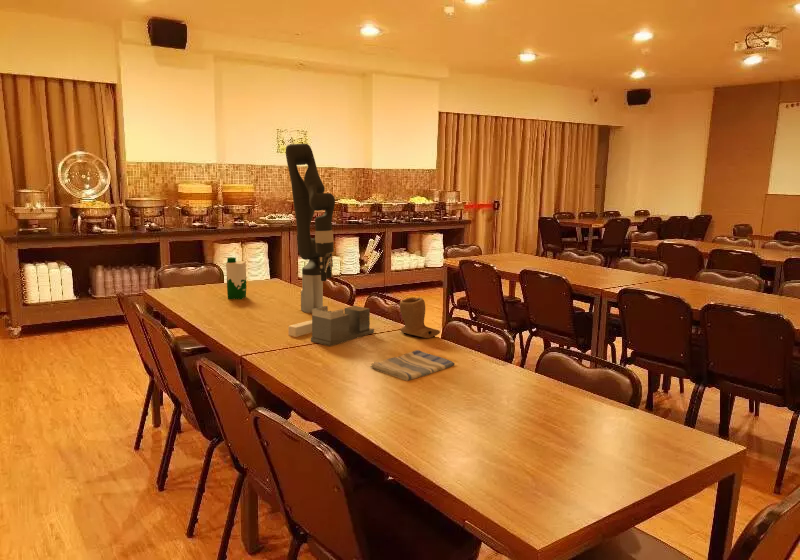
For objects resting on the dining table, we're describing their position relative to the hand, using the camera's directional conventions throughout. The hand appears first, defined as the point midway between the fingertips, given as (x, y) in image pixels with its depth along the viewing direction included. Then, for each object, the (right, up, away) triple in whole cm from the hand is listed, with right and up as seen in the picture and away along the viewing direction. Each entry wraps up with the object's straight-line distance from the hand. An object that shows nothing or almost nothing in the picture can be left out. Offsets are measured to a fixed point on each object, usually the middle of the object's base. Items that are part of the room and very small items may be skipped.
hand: (326, 279), depth 257 cm
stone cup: (+38, -22, -17) cm, 47 cm away
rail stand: (+9, -22, -21) cm, 32 cm away
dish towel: (+35, -30, -55) cm, 72 cm away
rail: (-5, -21, -13) cm, 25 cm away
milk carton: (-50, -9, +45) cm, 68 cm away
